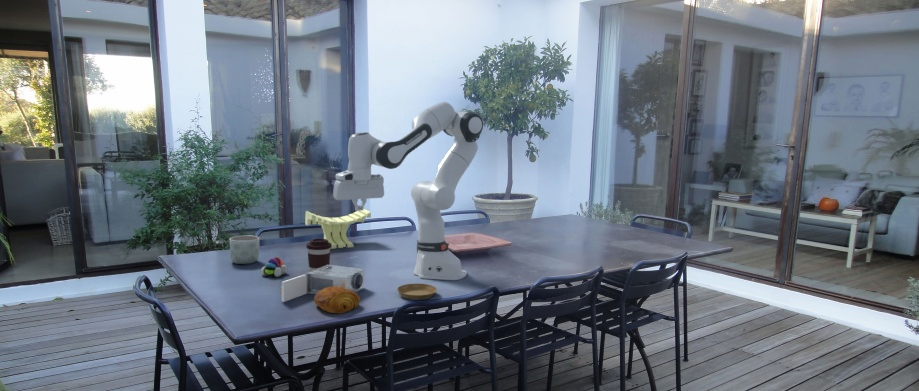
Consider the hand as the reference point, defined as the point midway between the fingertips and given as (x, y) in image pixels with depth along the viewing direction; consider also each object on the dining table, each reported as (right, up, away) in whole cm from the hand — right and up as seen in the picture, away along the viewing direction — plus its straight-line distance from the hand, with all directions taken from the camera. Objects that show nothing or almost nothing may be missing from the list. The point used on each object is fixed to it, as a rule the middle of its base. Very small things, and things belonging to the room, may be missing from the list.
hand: (359, 210), depth 214 cm
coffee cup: (-19, -27, +13) cm, 36 cm away
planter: (-57, -24, +32) cm, 69 cm away
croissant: (-3, -33, -25) cm, 41 cm away
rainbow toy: (-37, -27, +12) cm, 48 cm away
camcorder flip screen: (-20, -30, -17) cm, 40 cm away
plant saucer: (+23, -32, -10) cm, 40 cm away
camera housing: (-7, -30, -7) cm, 32 cm away
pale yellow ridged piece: (-24, -20, +73) cm, 80 cm away
